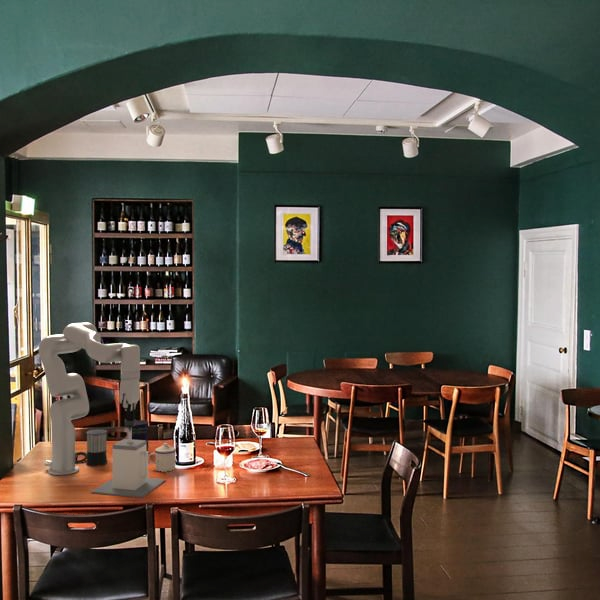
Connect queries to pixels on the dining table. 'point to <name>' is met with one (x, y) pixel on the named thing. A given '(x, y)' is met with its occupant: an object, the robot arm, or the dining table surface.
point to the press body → (129, 464)
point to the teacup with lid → (164, 458)
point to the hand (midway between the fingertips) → (130, 419)
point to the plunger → (129, 429)
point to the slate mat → (140, 492)
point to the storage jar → (140, 431)
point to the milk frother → (94, 448)
